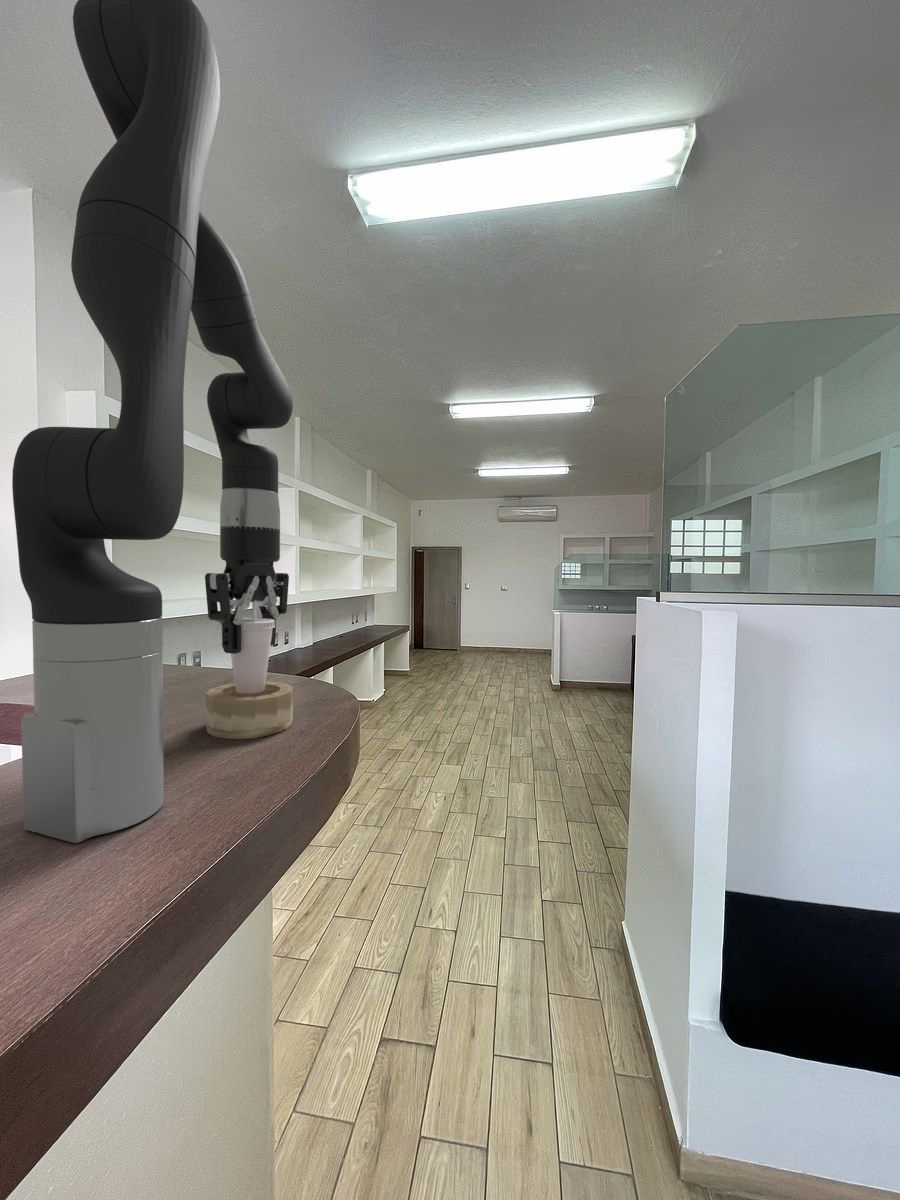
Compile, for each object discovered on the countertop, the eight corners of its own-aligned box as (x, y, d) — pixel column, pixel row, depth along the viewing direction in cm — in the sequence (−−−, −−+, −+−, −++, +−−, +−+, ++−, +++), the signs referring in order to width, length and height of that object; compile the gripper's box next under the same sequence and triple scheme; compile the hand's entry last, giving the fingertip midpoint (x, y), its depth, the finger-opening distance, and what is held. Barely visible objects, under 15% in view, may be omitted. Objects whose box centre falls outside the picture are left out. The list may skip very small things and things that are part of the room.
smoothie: (264, 696, 67) (264, 590, 66) (216, 695, 67) (215, 588, 66) (281, 685, 73) (282, 588, 72) (237, 684, 73) (237, 586, 72)
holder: (257, 743, 63) (257, 704, 63) (187, 732, 67) (187, 695, 66) (308, 719, 74) (308, 685, 73) (245, 711, 77) (245, 678, 77)
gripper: (235, 521, 61) (235, 660, 62) (305, 530, 74) (304, 644, 75) (185, 521, 63) (186, 655, 64) (262, 530, 77) (262, 640, 78)
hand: (250, 648), depth 70 cm, fingers closed on smoothie, 6 cm apart
